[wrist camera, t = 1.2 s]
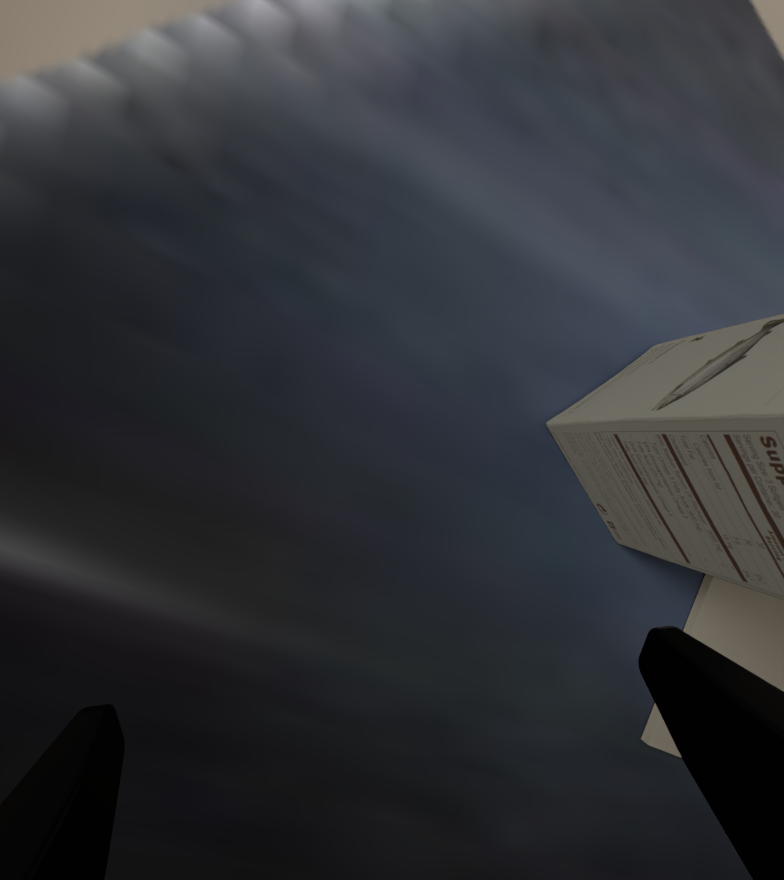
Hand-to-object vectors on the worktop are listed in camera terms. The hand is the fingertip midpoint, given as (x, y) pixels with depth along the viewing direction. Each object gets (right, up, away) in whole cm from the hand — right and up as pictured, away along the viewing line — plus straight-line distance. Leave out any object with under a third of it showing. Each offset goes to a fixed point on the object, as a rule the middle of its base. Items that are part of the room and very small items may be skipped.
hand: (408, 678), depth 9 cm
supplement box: (+12, +4, +17) cm, 21 cm away
